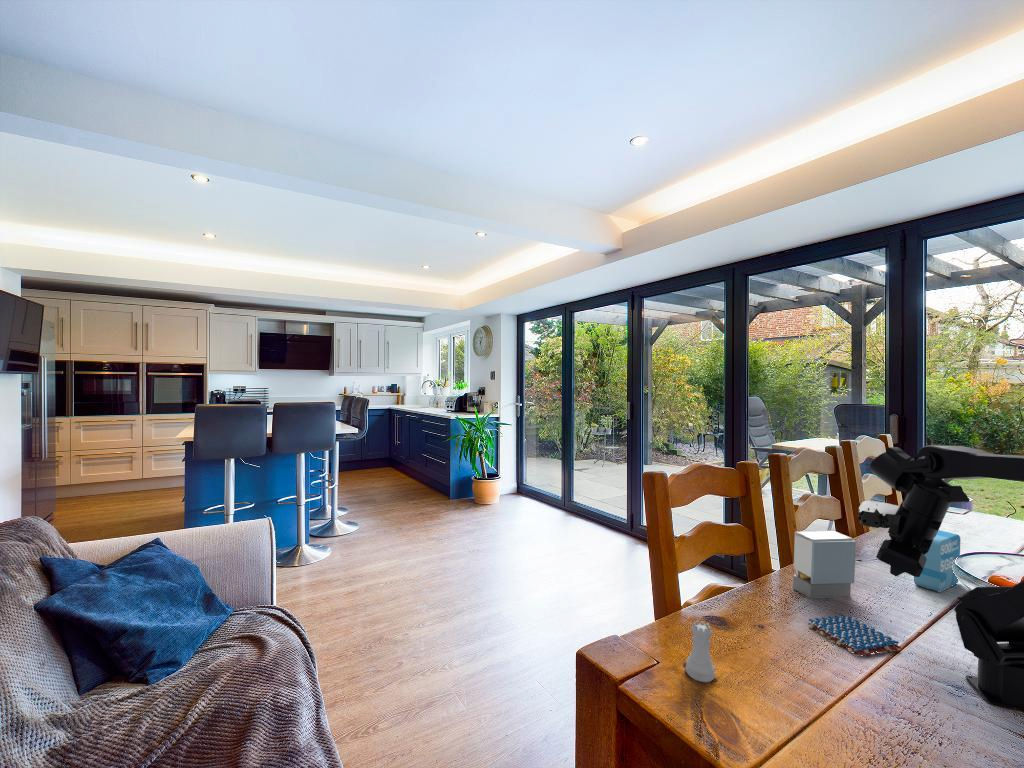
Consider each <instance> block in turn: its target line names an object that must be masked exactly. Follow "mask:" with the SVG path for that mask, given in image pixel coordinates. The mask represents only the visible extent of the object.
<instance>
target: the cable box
mask: <svg viewBox="0 0 1024 768" xmlns="http://www.w3.org/2000/svg"><path fill="white" fill-rule="evenodd" d="M846 540H854V539H853V537H851V536H848V535H845V534H843V533H841V532H838V531H836V530H812V531H811V530H808V531H807V530H806V531H805V530H804V531H803V530H801V531H794V545H793V546H794V547H793V550H794V551H793V569H794V570H795V574H793V575H792V589H794V590H795V591H797V592H799V593H800V594H802V595H804V596H805V597H807V598H808V599H811V600H812V599H824V598H825V599H827V598H830V599H831V598H843V597H845V598H846V597H848V598H849V597H851V591H852V590H851V589H852V588H851V586H852V583H838V584H811V564H812V541H846Z"/></svg>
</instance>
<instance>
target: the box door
mask: <svg viewBox="0 0 1024 768" xmlns="http://www.w3.org/2000/svg"><path fill="white" fill-rule="evenodd" d="M856 541H857V540H854V539H852V540H846V541H812V564H811V584H838V583H851V584H854V583H855V571H856V570H855V569H856V549H857V548H856V547H857V545H856V544H857V543H856Z"/></svg>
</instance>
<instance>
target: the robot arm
mask: <svg viewBox="0 0 1024 768" xmlns="http://www.w3.org/2000/svg"><path fill="white" fill-rule="evenodd" d="M869 467H870V468H869V469H870V472H871V473H872V474H873V475H874V476H875V477H877V478H878V479H880V480H881V481H883V482H884V483H886V484H887V485H888V486H890V487H891V488H893V490H895V491H897V492H899V493H906V492H907V494H906V497H905V499H904V500H902V501H901V503H900V505H897V504H891V503H887V502H880V501H873V500H865V501H864V500H863V501H862V502H861V504H860V505H859V507H858V515H857V517H856V518H857V520H858V521H859V524H860V525H862V526H864V527H869V528H875V529H876V528H877V529H879V528H882V529H887V533H888V536H889V538H890V539H885V540H883V542H882V543H881V545H880V547H879V549H878V551H877V554H876V555H875V556H876V559H878V561H880V562H882V563H885V564H887V565H888V566H890V569H889V573H890V574H891V575H892V576H895V577H898V576H900V575H902V574H905V573H906V574H907V575H910V576H913V578H914V577H920V575H921V573H922V571H923V568H924V566H925V563H926V561H927V559H926V557H925V556H924V555H925V554H926V553H927V552H928V551H929V549H930V546H931V544H932V542H933V539H934V537H935V536H936V534H937V532H938V530H940V528H941V526H942V523H943V520H944V518H945V516H946V514H947V512H948V510H949V508H950V506H951V504H953V503H954V504H955V503H956V504H957V503H969V502H970V498H969V496H968V495H967V494H966V493H965V492H964V490H963V487H962V486H961V485H952V484H951V483H949V482H948V481H946V480H979V479H988V478H989V479H999V480H1006V481H1007V480H1010V481H1017V482H1018V481H1021V482H1024V455H1011V454H996V453H991V452H988V451H984V450H983V449H978V448H973V447H968V446H964V445H924V446H922V447H920V450H919V451H918V454H915V455H912V456H910V455H909V454H907V453H906V452H905V451H904V450H902V449H901V448H900V447H887V449H886V451H884V452H882V453H880V454H879V455H878V456H876V457H875V458H874V459H872V461H871V462H870V466H869ZM956 598H957V599H956V600H958V601H960V602H958V603H957V604H956V605H955V607H954V612H955V620H956V622H957V627H958V629H959V634H960V636H961V641H962V644H963V648H964V649H965V650H967V651H969V652H970V653H972V654H973V656H974V657H975V658H977V676H973V675H965V679H966V680H967V682H968V683H969V684H970V685H971V686H972V687H973V689H974V690H975V691H976V692H978V694H980V696H981V697H982V698H983V699H984V700H985V702H987V703H988V704H991V705H994V706H999V707H1003V708H1007V709H1011V710H1012V709H1013V710H1016V711H1017V710H1018V711H1022V712H1024V579H1023V580H1021V581H1019V582H1018V583H1016V584H1014V585H1013V586H976V587H974V588H973V589H971V591H970V592H968V594H967V593H966V595H964V596H957V597H956Z"/></svg>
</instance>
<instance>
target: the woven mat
mask: <svg viewBox="0 0 1024 768" xmlns="http://www.w3.org/2000/svg"><path fill="white" fill-rule="evenodd" d="M808 621H809V622H808V623H807V625H808V628H809V629H811V630H815V632H816V633H818V632H819V634H820V636H823V637H824V636H825V635H826V637H825V638H826V639H828V640H829V641H830V642H831V643H833V642H835V644H836V645H837V644H838V645H837V646H839V647H847V648H849V649H847V651H848V652H849V653H850V652H856V653H855V656H856V655H857V656H861V655H865V656H866V655H868V656H872V655H871V653H873V652H874V653H875V654H874V655H877V652H886V653H891V652H896V651H900V650H901V649H902V647H901V646H900V645H898V644H900V642H899V640H896V639H894V638H892V637H891V636H888V635H886V634H884V633H883V632H881V631H879V630H876V628H874V627H873V628H872V627H870V626H869V625H867V624H866V623H863V622H862V621H860V620H859V619H855V618H854V617H853V616H850V615H844V614H840V615H836V614H835V615H834V617H833V616H830V615H828V616H827V617H824V616H822V617H821V618H818V617H815V619H811V618H808ZM810 622H811V623H810ZM831 638H832V639H831ZM846 644H847V645H846ZM840 645H842V646H840ZM876 651H877V652H876ZM857 656H856V657H857Z"/></svg>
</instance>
